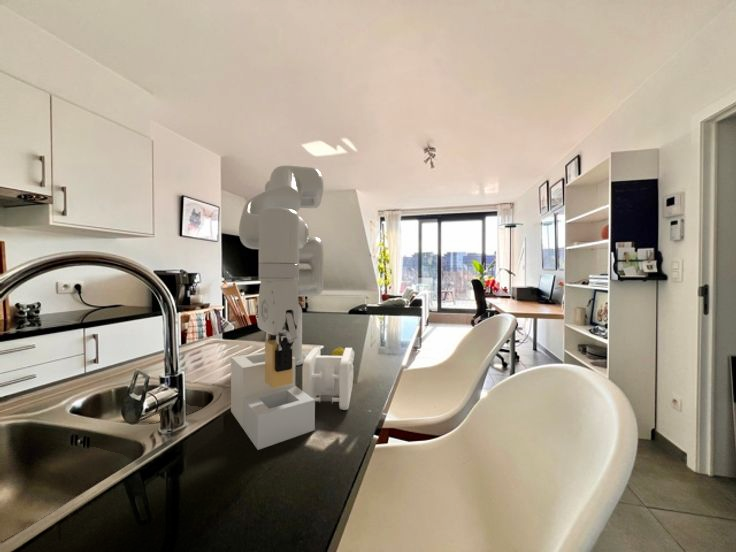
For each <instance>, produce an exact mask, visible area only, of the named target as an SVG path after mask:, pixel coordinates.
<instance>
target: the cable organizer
mask: <svg viewBox="0 0 736 552" xmlns="http://www.w3.org/2000/svg"><path fill="white" fill-rule="evenodd" d="M354 359H355V351H354V350H353V347H345V348H344V353H343V356H331V355H321V348H320V347H316V346H315V347H313V348H312V349H311V350H310V351H309V353H308V354H307V355H306V358H305V360H304V362H303V364H302V369H301V370H302V371H301V373H302V376H301V377H302V378H301V379H302V380H301V382H302V384H301V385H302V387H301V388H302V389H301V390H302V391H303V392H305V393H306V394H308V395H309V396H310V397H312V398H313V399H314V400H315V402H321V398H322V397H321V396H332V397H331V404H332V406H333V403H334V402H335V403H336V402H338V408H339V410H343V411H346V410H348V409H349V408H350V407H349V406H350V401H351V397H352V391H353V385H354V384H353V381H354ZM317 396H319V397H317ZM334 396H339V397H334Z"/></svg>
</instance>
